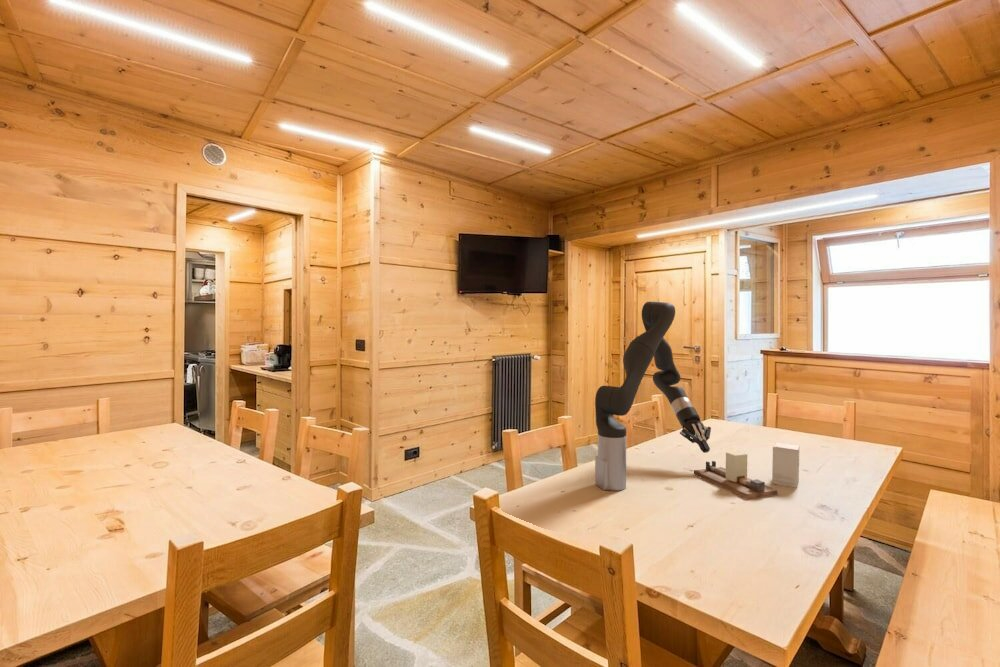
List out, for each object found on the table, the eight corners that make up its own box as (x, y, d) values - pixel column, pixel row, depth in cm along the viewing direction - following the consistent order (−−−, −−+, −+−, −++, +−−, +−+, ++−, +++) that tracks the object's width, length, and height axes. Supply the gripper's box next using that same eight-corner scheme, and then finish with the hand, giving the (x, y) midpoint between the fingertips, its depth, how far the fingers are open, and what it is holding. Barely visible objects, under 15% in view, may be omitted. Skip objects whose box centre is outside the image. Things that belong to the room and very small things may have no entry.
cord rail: (746, 499, 143) (747, 484, 143) (693, 474, 166) (693, 461, 166) (777, 494, 146) (777, 480, 146) (721, 471, 169) (721, 459, 169)
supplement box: (797, 488, 152) (798, 450, 152) (771, 483, 156) (772, 446, 156) (799, 482, 158) (800, 445, 157) (774, 477, 162) (774, 441, 162)
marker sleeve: (734, 482, 152) (735, 455, 152) (725, 478, 156) (725, 452, 156) (747, 480, 153) (747, 454, 153) (737, 476, 157) (738, 451, 157)
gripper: (674, 406, 175) (696, 447, 163) (704, 404, 178) (727, 444, 167) (665, 418, 180) (686, 458, 169) (694, 415, 184) (716, 455, 172)
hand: (706, 451), depth 168 cm, fingers closed
